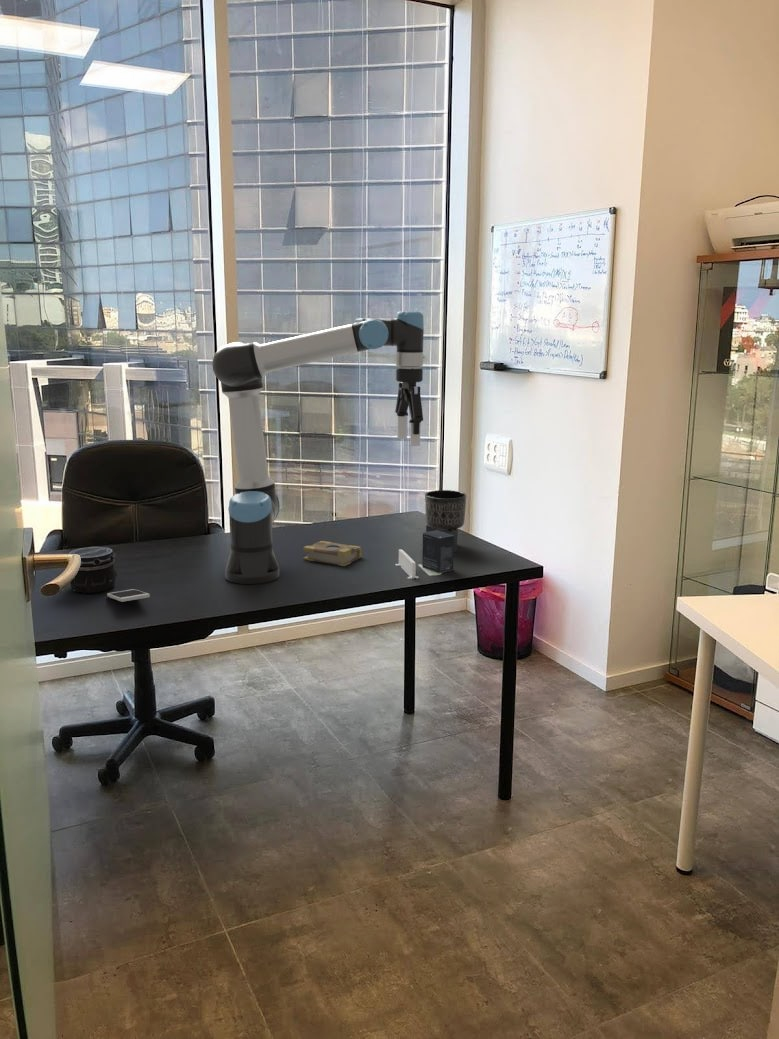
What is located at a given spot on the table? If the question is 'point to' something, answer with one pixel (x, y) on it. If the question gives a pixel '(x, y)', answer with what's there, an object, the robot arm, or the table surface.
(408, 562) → the handle
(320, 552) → the book
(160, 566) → the table surface
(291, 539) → the table surface
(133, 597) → the smartphone
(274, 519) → the robot arm
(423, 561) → the box
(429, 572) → the pad
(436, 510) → the planter
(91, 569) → the container
